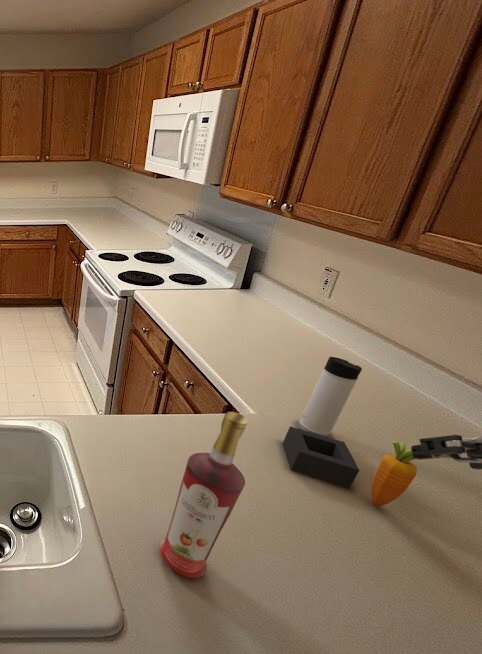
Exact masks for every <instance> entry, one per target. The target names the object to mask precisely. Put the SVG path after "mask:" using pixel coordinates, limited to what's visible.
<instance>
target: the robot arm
mask: <svg viewBox="0 0 482 654" xmlns="http://www.w3.org/2000/svg"><path fill="white" fill-rule="evenodd" d="M418 441H419V443H420V444H415V445H412V446H411V447H410V449H411V451H412V455H413V458H414V460H431V459H432V460H433V459H437V460H439V459H452V460H454V461H455V462H458V463H468V464H469V467H470V469H473V470H482V436H476V437H474V438H465V437H464V438H463V437H462V435H459V434H451V435H442V436H434V437H422V438H419V440H418ZM463 454H466V456H467V457H463V456H462V455H463Z"/></svg>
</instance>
